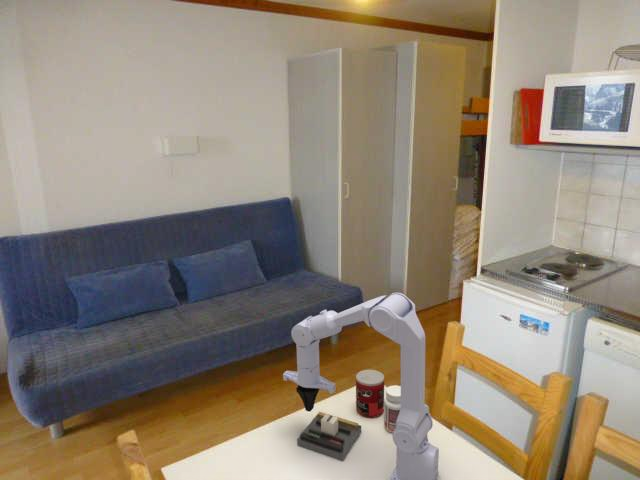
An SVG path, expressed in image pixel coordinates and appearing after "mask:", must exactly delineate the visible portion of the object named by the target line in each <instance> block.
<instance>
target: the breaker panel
mask: <svg viewBox="0 0 640 480" xmlns="http://www.w3.org/2000/svg"><path fill="white" fill-rule="evenodd" d="M325 414H327V415H331V416H334V417H337V418H338V432H337V433H336V435H335V436H333V435H330V434H327V433H323V432H321V419H322V418H323V417H324V416H325ZM361 433H362V425H360V424H359V423H358V422H355V421H352V420H349V419H346V418H341V417H338V416H335V415H332V414H328V413H326V412H322V411H318V412H317V414H316V415H315V416H314V417H313V419H312V420H311V421H310V423H309V424H308V425H307V426H306V427H305V429H303V431H302V432H301V434H300V435H299V436H298V437H297V438H296V445H297V446H298V447H300V448H303V449H306V450H309V451H312V452H315V453H317V454H322V455H323V456H327V457H330V458H333V459H335V460H338V461H341V462H343V461H344V460H345V459H346V457H347V455H348V454H349V453H350V451H351V449H352V448H353V446H354V445H355V443H356V441H357V440H358V438H359V437H360V435H361Z"/></svg>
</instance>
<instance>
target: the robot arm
mask: <svg viewBox="0 0 640 480" xmlns="http://www.w3.org/2000/svg"><path fill="white" fill-rule="evenodd" d="M359 322H365V324H366V325H367V327H369V328H371V327H372V328H373V329H374V330H375V331H377V332H378V333H380V335H383V336H385V337H386V338H388V339H389V340H391V341H393V342H394V343H396V344H397V345H398V344H399V346H400V386H401V409H400V412H399V415H398V418H397V421H396V428H395V430H394V431H393V433H392V435H391V436H392V441H393V442H394V445H395V447H396V463H395V465H396V466H395V467H394V470H393V471H392V473H391V476H390V478H389V479H390V480H436V479H437V477H438V473H439V458H440V457H439V456H440V450H439V448H438V447H436V446H434V445H433V444H431V443H430V442H429V437H428V433H429V432H430V431H431V430H432V428H433V425H434V422H433V419H432V415H431V414H430V406H429V405H427V403H425V399H426V397H425V394H426V393H425V391H426V333H425V330H424V328H423V326H422V324H421V321H420V319H419V317H418V315H417V313H416V304H415V303H414V302H413V301H412V300H411V299H410V298H408V297H407V296H406V295H405V294H404V293H401V292H392V293H391V294H389V295H388V296H387V294H386V295H380V296H377V297H375V298H372V299H370V300H367V301H364V302H362V303H360V304H357V305H354V306H352V307H350V308H348V309H345V310H343V311H340V312H336V311H335V310H327V309H324V310H322V311H320V312H319V314H318V315H315V316H312V315H310V316H309V315H308V317H306V318H304V319H303V320H302V321H300V322H298V323H297V324H296V325H294V326H293V327H292V328H291V332H290V333H291V339H292V341H293V342H294V343H295V344H296V345H295V346H296V347H295V348H296V365H297V366H296V367H297V371H293V370H286V371H284V372H283V374H282V378H283V379H282V380H283V381H286V382H288V381H291V382H293V383H295V384H297V387H296V389H295V391H296V392H297V394H298V395H299V397H300V399H301V400H302V403H303V406H304V409H305V411H306V412H311V411H312V410H313V409H314V406H315V401H316V398H317V396H318V394H319V391H320V390H323V391H327V392H328V393H329V394H333V393H334V392H335V391H336V383H334V382H332V381H330V380H328V379H326V378H324V376H322V375H320V345H319V343H320V340H322V339H325V338H328V337H330V336H334V335H336V334H340V333H341V331H342V330H343V329H342V328H343V327H345V326H349V325H353V324H356V323H359Z"/></svg>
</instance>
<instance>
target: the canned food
mask: <svg viewBox="0 0 640 480" xmlns="http://www.w3.org/2000/svg"><path fill="white" fill-rule="evenodd" d="M384 401H385V375H384V374H383V373H382V372H381V371H378V370H377V369H376V370H375V369H363V370H360V371H359V372H357V373H356V376H355V407H356V411H357V413H358V414H359V415H360V416H362V417H364V418H369V419H370V418H371V419H372V418H377V417H380V416H381V415H382V414H383V413H384Z"/></svg>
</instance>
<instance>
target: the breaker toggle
mask: <svg viewBox="0 0 640 480" xmlns="http://www.w3.org/2000/svg"><path fill="white" fill-rule="evenodd" d="M327 414H328V413H326V414H325V416H324V417H323V418H322V419H321V432H323V433H327V434H330V435H333V436H335V435H336V433H337V432H338V418H337V417H338V416H336V417H334V416H335V415H332V414H329V415H327ZM331 415H332V416H331Z"/></svg>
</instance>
